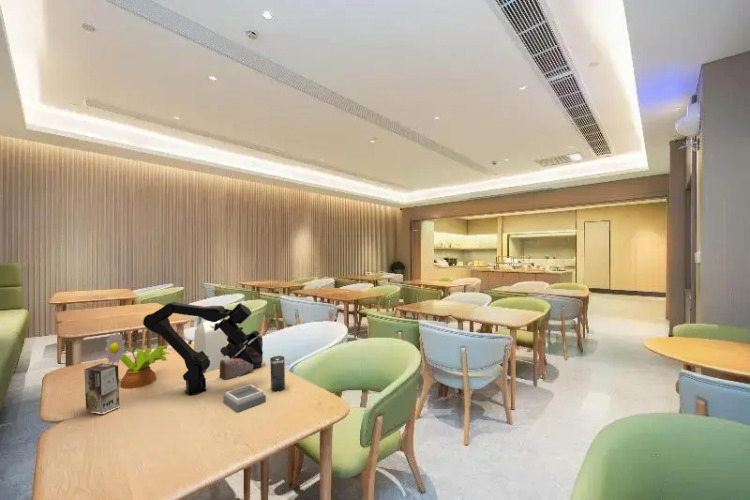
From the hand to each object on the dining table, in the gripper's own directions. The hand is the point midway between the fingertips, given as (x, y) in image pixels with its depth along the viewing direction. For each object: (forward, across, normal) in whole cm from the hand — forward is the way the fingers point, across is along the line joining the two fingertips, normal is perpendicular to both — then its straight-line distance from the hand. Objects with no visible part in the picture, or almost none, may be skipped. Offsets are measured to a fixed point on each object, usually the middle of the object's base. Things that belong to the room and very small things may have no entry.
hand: (257, 358), depth 142 cm
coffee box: (-24, +20, -46) cm, 56 cm away
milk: (-11, -25, -36) cm, 45 cm away
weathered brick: (0, -15, -22) cm, 27 cm away
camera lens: (+3, -25, -20) cm, 32 cm away
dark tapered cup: (+15, 0, -2) cm, 15 cm away
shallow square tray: (+9, +12, -8) cm, 17 cm away
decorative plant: (-26, -6, -51) cm, 58 cm away
